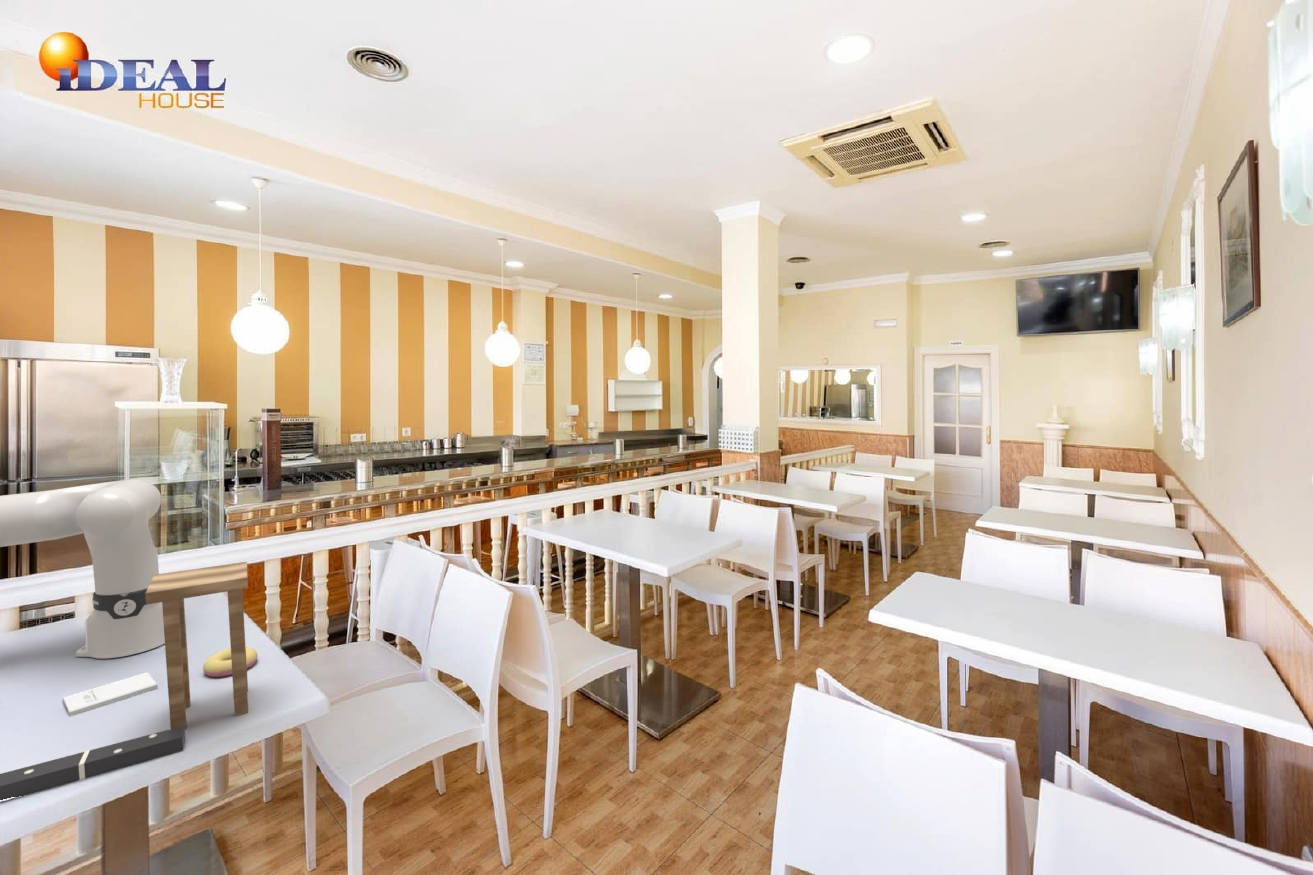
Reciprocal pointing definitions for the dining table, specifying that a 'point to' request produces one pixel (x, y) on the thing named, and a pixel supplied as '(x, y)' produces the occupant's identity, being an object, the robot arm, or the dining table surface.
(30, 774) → the domino
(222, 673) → the donut
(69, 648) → the dining table surface
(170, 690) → the stool
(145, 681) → the external hard drive
